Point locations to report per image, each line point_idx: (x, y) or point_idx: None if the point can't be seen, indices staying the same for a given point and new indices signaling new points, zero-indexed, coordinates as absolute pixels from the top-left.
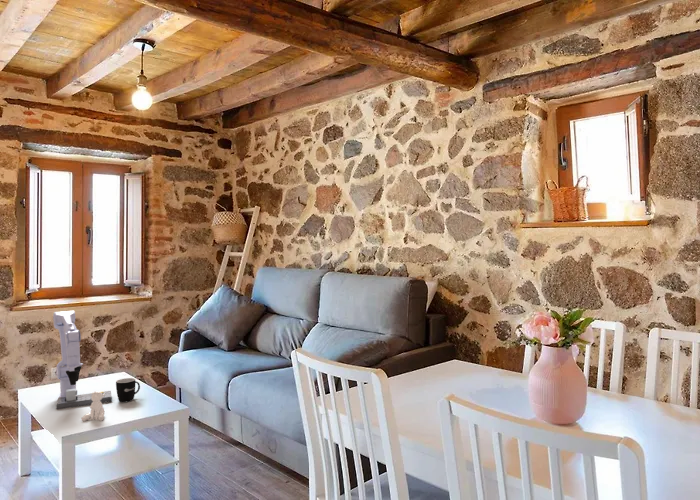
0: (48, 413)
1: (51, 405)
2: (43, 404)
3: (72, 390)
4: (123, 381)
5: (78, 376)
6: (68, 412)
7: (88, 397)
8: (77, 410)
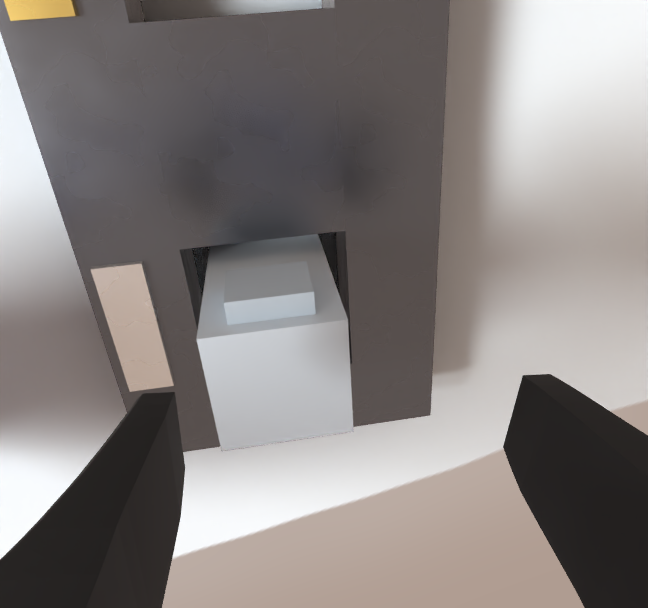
0: (507, 413)
1: (236, 449)
2: None
3: (328, 361)
4: None
5: (143, 469)
6: (600, 254)
7: (298, 74)
8: (591, 171)
